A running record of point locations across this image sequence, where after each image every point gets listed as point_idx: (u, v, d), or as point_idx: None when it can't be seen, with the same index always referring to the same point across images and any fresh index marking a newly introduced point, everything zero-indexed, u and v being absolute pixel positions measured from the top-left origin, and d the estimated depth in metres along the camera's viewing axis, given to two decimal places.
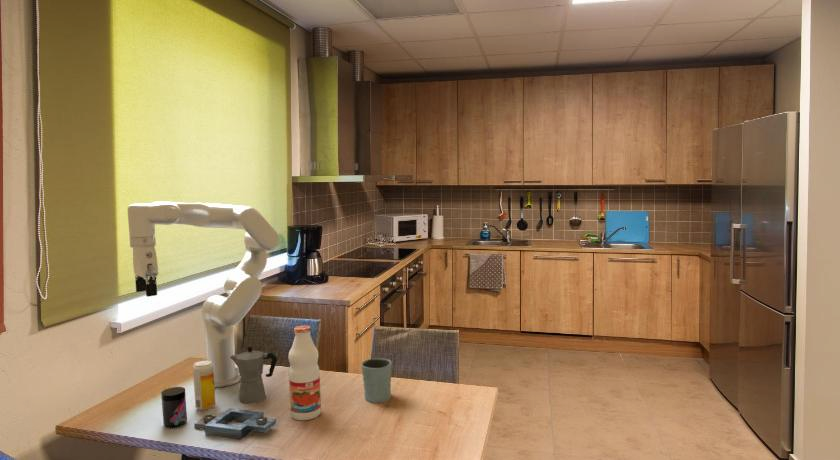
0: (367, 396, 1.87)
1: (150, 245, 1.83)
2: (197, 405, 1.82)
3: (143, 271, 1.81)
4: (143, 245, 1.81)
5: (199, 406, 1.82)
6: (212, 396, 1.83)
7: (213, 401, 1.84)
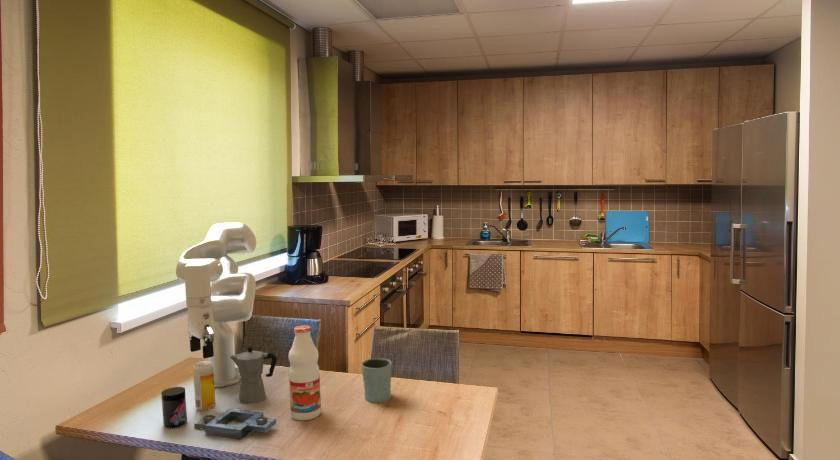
0: (367, 396, 1.87)
1: (207, 305, 1.79)
2: (197, 405, 1.82)
3: (200, 333, 1.77)
4: (200, 306, 1.77)
5: (199, 406, 1.82)
6: (212, 396, 1.83)
7: (213, 401, 1.84)
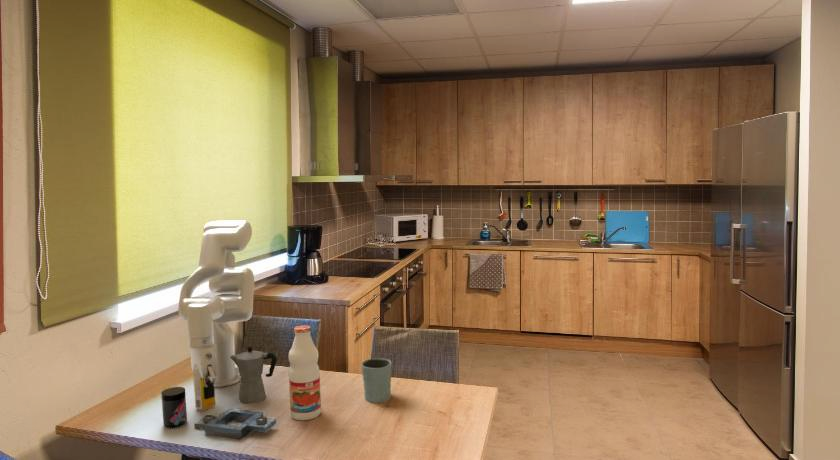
0: (367, 396, 1.87)
1: (209, 345, 1.80)
2: (197, 405, 1.82)
3: (203, 373, 1.79)
4: (203, 346, 1.79)
5: (199, 406, 1.82)
6: None
7: (213, 401, 1.84)
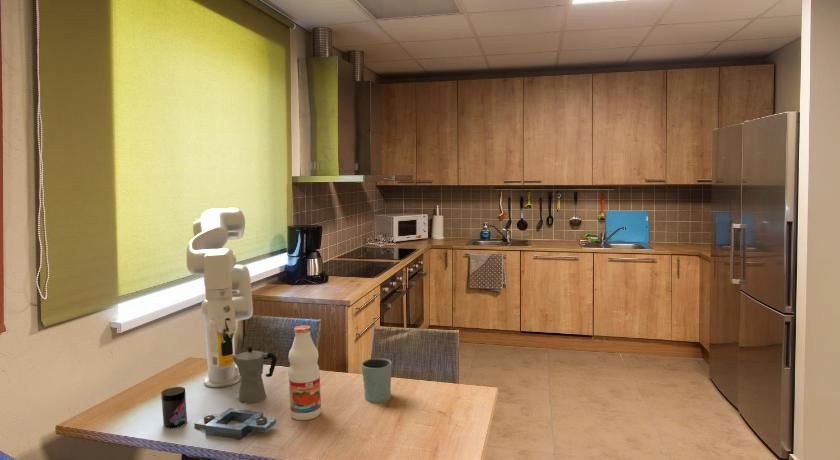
0: (367, 396, 1.87)
1: (227, 298, 1.68)
2: (214, 363, 1.69)
3: (221, 327, 1.65)
4: (220, 298, 1.66)
5: (216, 364, 1.68)
6: None
7: (231, 359, 1.70)
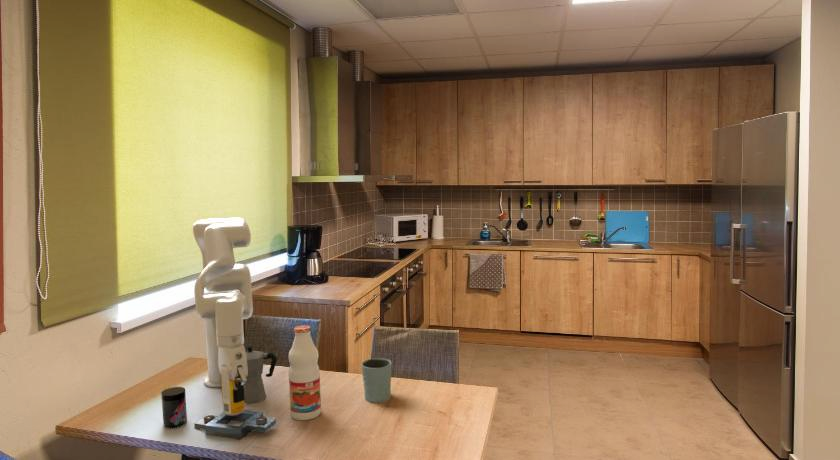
0: (367, 396, 1.87)
1: (239, 344, 1.65)
2: (225, 409, 1.66)
3: (233, 374, 1.63)
4: (232, 345, 1.63)
5: (228, 410, 1.66)
6: None
7: (242, 405, 1.68)
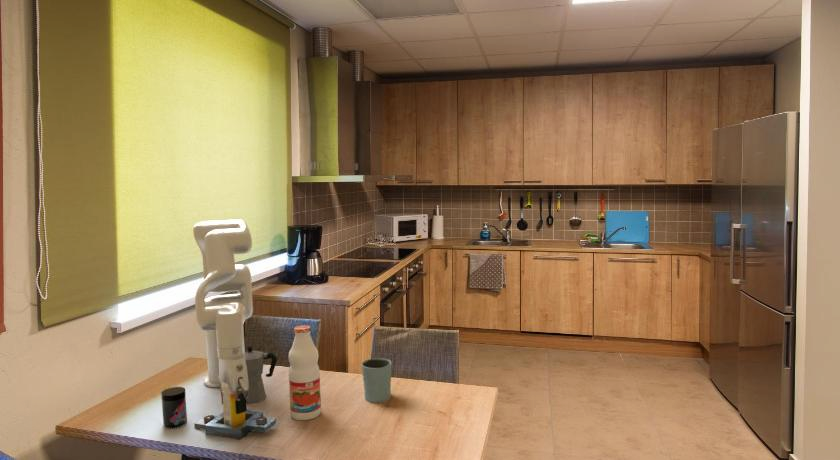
0: (367, 396, 1.87)
1: (240, 356, 1.65)
2: None
3: (233, 386, 1.63)
4: (233, 357, 1.64)
5: None
6: (242, 416, 1.68)
7: (243, 421, 1.69)
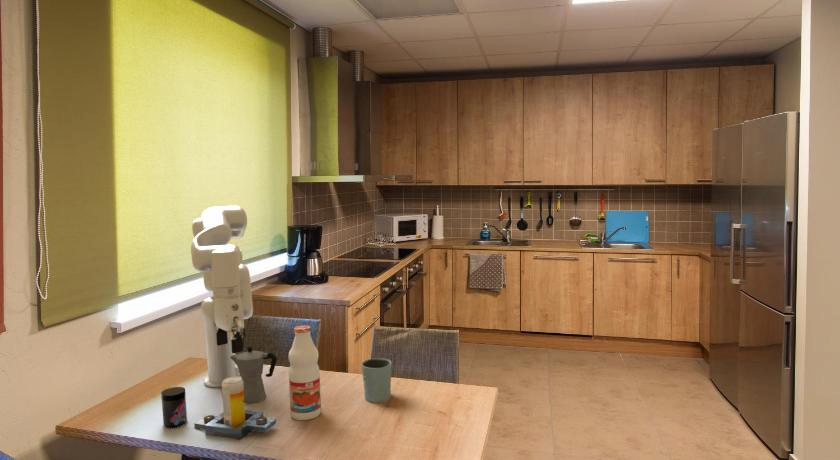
0: (367, 396, 1.87)
1: (236, 296, 1.64)
2: None
3: (229, 325, 1.62)
4: (229, 296, 1.62)
5: None
6: (242, 416, 1.68)
7: (243, 421, 1.69)
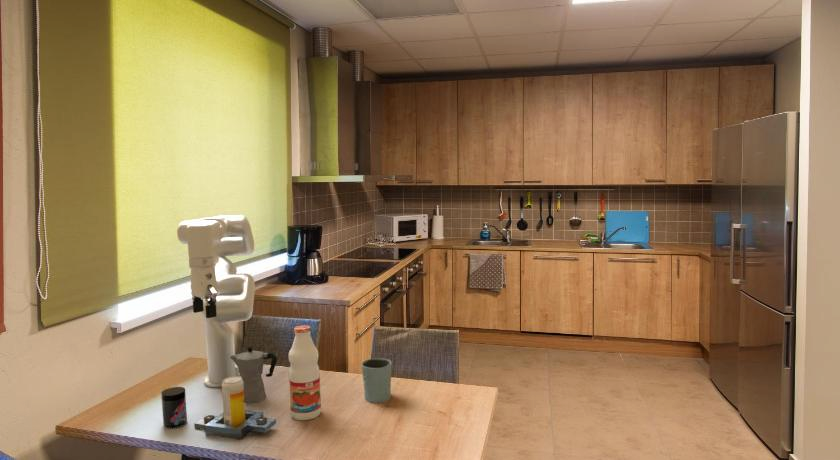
0: (367, 396, 1.87)
1: (210, 266, 1.80)
2: None
3: (203, 292, 1.78)
4: (203, 266, 1.78)
5: None
6: (242, 416, 1.68)
7: (243, 421, 1.69)
